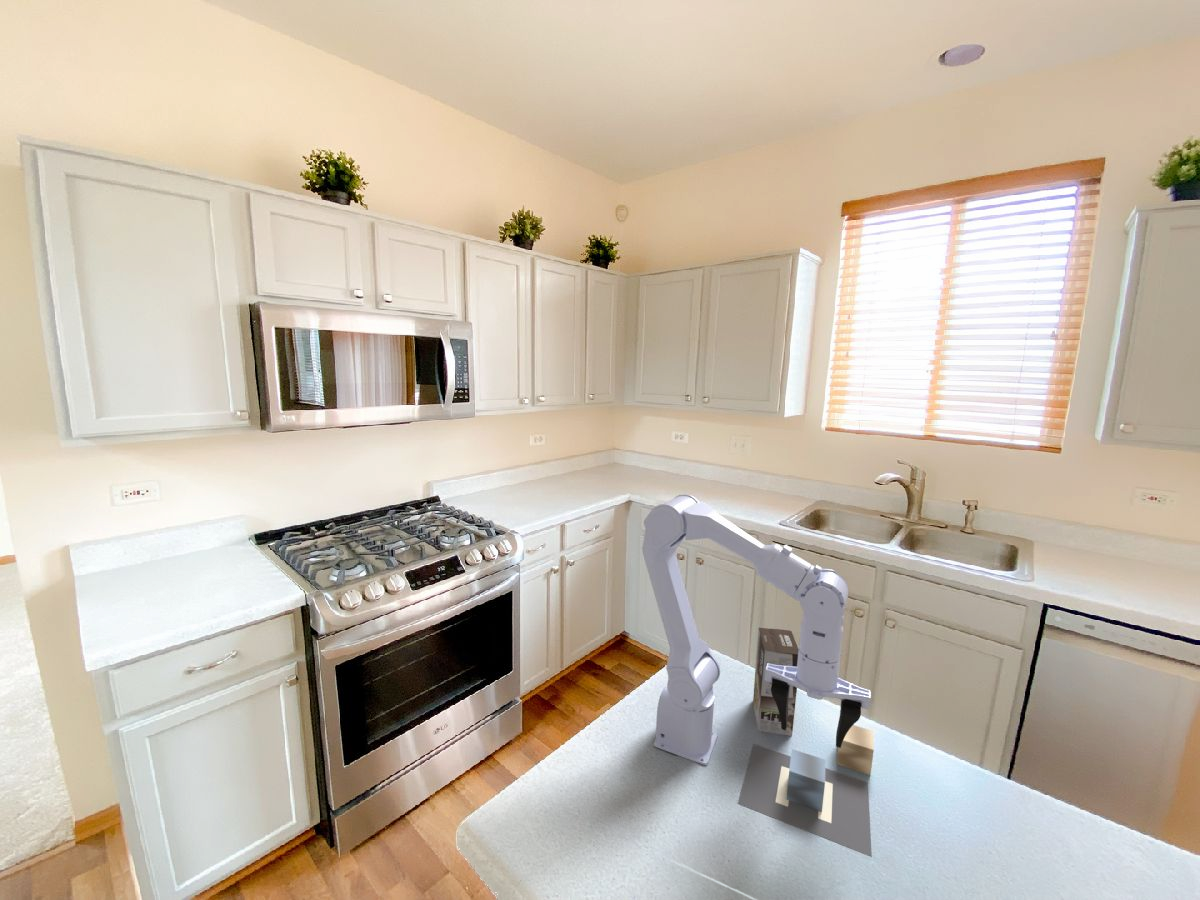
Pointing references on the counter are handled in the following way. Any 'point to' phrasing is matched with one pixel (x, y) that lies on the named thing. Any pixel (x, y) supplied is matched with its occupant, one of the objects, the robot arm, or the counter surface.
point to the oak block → (857, 750)
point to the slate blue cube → (806, 780)
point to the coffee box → (777, 651)
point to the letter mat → (837, 821)
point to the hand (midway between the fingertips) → (810, 734)
